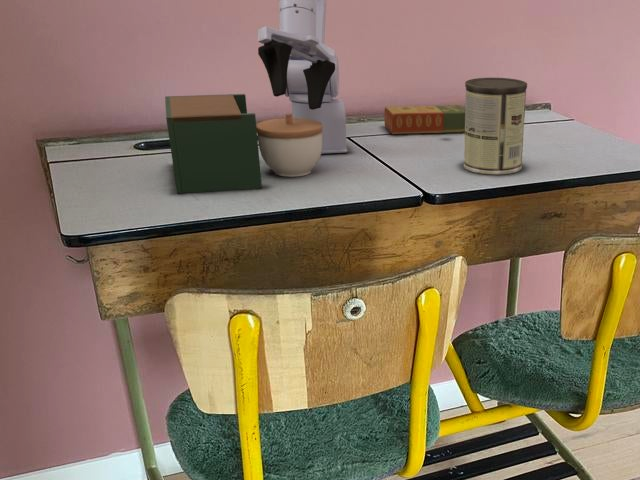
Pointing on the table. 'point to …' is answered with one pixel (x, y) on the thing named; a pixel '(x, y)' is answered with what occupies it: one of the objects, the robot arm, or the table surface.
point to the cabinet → (213, 143)
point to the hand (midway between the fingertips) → (297, 101)
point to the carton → (425, 119)
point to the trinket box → (290, 145)
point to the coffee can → (494, 125)
